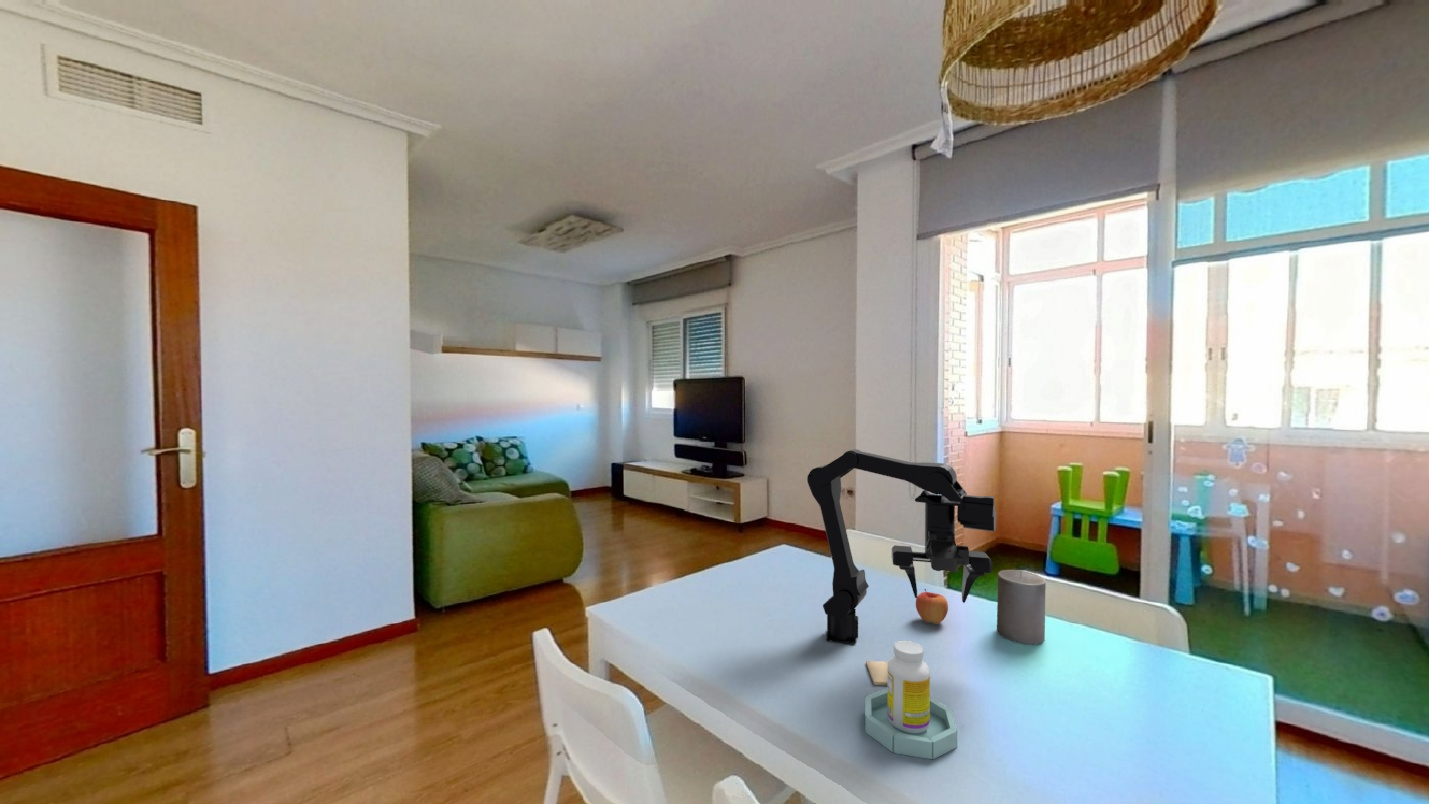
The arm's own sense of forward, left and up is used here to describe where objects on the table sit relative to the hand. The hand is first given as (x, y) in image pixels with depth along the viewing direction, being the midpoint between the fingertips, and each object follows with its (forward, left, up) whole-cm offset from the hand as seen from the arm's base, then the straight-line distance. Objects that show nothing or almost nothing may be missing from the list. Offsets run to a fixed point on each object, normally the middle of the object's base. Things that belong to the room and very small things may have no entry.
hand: (939, 599), depth 110 cm
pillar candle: (+20, +18, -13) cm, 30 cm away
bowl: (-8, -25, -13) cm, 29 cm away
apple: (+1, +20, -13) cm, 24 cm away
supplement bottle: (-8, -25, -12) cm, 29 cm away
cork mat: (-9, -8, -13) cm, 18 cm away
